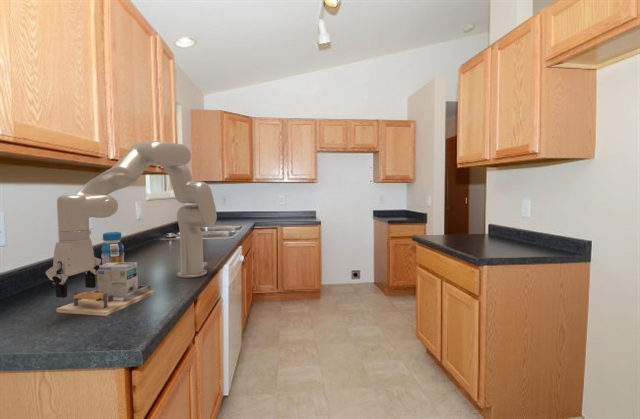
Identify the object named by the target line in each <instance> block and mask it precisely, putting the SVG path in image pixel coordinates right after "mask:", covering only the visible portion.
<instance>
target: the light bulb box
mask: <svg viewBox="0 0 640 419" xmlns="http://www.w3.org/2000/svg"><path fill="white" fill-rule="evenodd" d="M96 276H97V278H96V280H97V289H98V293H107V297H108V296H110V295H113V297H123V295H126V294H128V293H131V292H133V291H136V290H138V285H139V279H138V278H139V276H138V262H136V261H135V262H124V263H106V264H103V265H102V264H100V265H99V269H98V270H97V274H96Z"/></svg>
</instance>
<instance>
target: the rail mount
mask: <svg viewBox="0 0 640 419" xmlns="http://www.w3.org/2000/svg"><path fill="white" fill-rule="evenodd" d="M151 287H152V286H151V285H149V284H138V290H136V291H133V292H131V293H128V294H126V295H123V297H113V295H110V296H108V297H107V293H104V294H103V297H101V298H99V299H96V300H94V299H79V298H74V297H73V302H70V303H68V304H65V305H63V306H60V307H57V308H56V313H58V314H59V313H61V314H73V315H75V314H76V315H87V316H101V317H107V316H109V315H111V314H113V313H116V312H118V311H121V310H122V309H125V308H127V307H130V306H131V305H134V304H136V303H138V302H140V301H142V300H144V299H147V298H150V297H151V296H153V295H156V290H152V288H151ZM90 292H96V293H98V288H97V289H95V290H91V291H90ZM77 294H78V291H77V290H76V291H73V294H72V295H73V296H74V295H77Z"/></svg>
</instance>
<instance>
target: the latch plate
mask: <svg viewBox="0 0 640 419" xmlns="http://www.w3.org/2000/svg"><path fill="white" fill-rule="evenodd" d="M103 294H104V293H96V292H91V291H83V292H80V293H77V295H74V294H73V299H74V298H78V300H81V299H94V300H96V299H99V298H101V297H103Z"/></svg>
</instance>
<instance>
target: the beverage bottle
mask: <svg viewBox="0 0 640 419" xmlns="http://www.w3.org/2000/svg"><path fill="white" fill-rule="evenodd" d="M102 240H103V242H104V243H103V244H102V246H101V249H100V250H101V252H102V253H101V256H100V257H101V265H103V264H106V263H125V260H124V259H125V258H124V257H125V252H124V244H123V243H122V242H121V241H122V232H120V231H109V232H104V233H102Z"/></svg>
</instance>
